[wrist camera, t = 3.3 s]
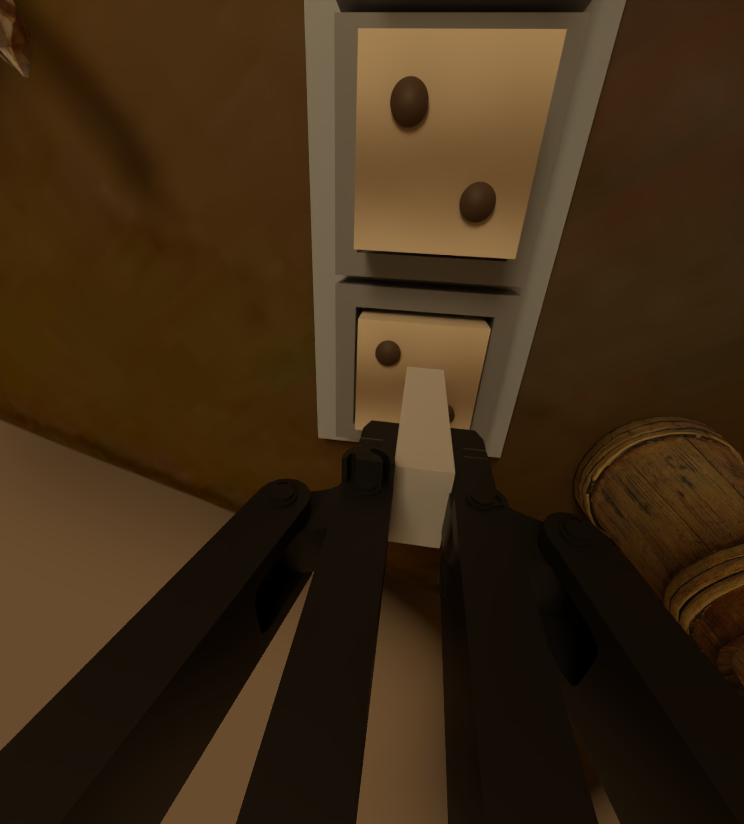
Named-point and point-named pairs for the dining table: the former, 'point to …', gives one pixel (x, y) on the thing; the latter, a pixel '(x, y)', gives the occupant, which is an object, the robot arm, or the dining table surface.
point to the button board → (433, 273)
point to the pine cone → (14, 38)
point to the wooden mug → (676, 524)
